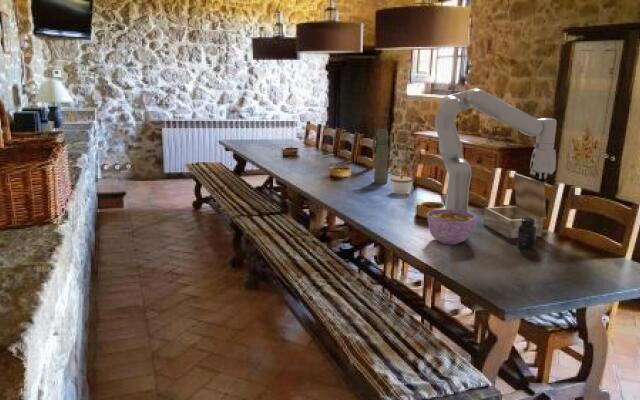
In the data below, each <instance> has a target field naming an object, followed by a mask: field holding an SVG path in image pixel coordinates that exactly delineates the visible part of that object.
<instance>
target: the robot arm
mask: <svg viewBox="0 0 640 400" xmlns="http://www.w3.org/2000/svg"><path fill="white" fill-rule="evenodd" d="M438 105H439V106H438V107H439V108H438V110H437V112H436V115H435V117H434V124H435V130H436V134H437V138H438V140H439V142H438V150H439V153H440V157H441V159H442V161H443V166H444V168H445V170H446V172H447V173H448V182H447V191H446V192H447V194H446V207H445V208H446V209H450V210H460V211H465V212H468V209H469V198H470V197H469V196H470V195H469V194H470V184H471V179H472V167H471V165H470V164H469V162H468V161H467V160H465V158H464V157H465V156H464V154H463V147H464V146H463V143H462V140H461V139H460V135H459V132H458V129H457V125H456V118H457V115H458V114H459V113H460V112H463V111H466V110H469V109H474V110H476V111H478V112H480V113H481V114H484V115H485V116H488V117H489V118H491V119H493V120H495V121H497V122H499V123H502V124H505V125H507V126H510V127H512V128H514V129H516V130H518V131H519V132H520V133H521V134H523V135H525V136H529V137H535V143H534V144H533V148H534V149H533V150H532V151H533V152H532V153H531V158H530V165H529V170H530V171H529V174H530V175H532V176H534V177H535V178H536V180H538V181H541V182H544V184H545V183H546V179H547V177H548V176H549V175H553V174H554V172H555V171H556V166H557V153H556V152H557V151H556V149H555V140H556V132H557V119H555V118H550V117H543V118H536V117H534V116H532V115H531V114H528V113H527V112H525V111H522V110H521V109H518V108H517V107H514V106H513V105H512V104H510V103H508V102H505V100H502V99H501V98H498V97H497V96H495V95H492V94H491V93H489V92H487V91H485V90H483V89H481V88H470V89H467V90H464V91H459V92H457V93H452V94H448V95H445V96H444V97H442V98H441V99H440V101H439V104H438Z"/></svg>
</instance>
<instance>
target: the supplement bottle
mask: <svg viewBox="0 0 640 400" xmlns="http://www.w3.org/2000/svg"><path fill="white" fill-rule="evenodd" d="M534 222H535V220H534V219H532V218H522V224H521V225H520V226H519V229H518V238H517V241H516V242H517V243H516V246H517V247H518V248H520V249H521V250H533V249H535V247H536V239H537V237H536V227H535V226H534V224H535V223H534Z"/></svg>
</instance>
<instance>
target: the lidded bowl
mask: <svg viewBox="0 0 640 400" xmlns="http://www.w3.org/2000/svg"><path fill="white" fill-rule="evenodd" d="M412 184H413V178H412V177H410V176H404V175H403V174H400V175H399V176H392V177H390V186H391V190H392V192H394V194H395V195H399V196H400V195H402V196H403V195H407V194H408V193H409V192H410V191H411V189H412Z"/></svg>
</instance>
